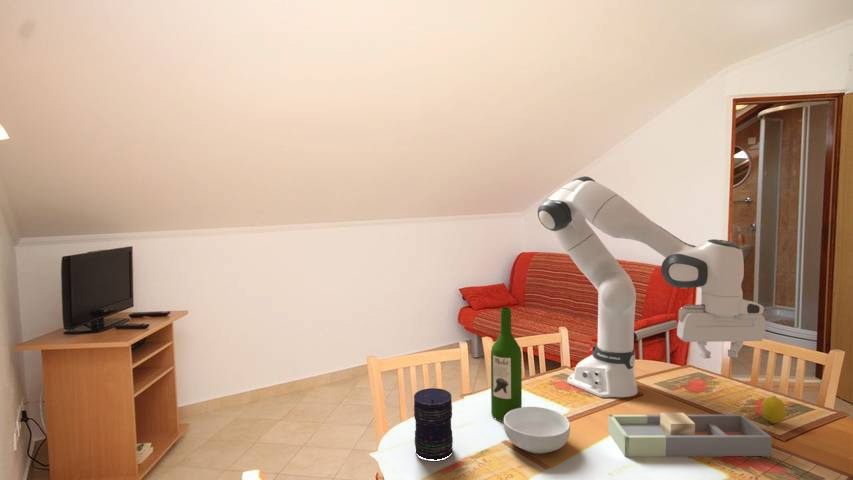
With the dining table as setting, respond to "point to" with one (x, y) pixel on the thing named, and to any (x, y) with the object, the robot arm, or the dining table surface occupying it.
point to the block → (676, 424)
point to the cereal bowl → (536, 429)
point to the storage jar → (433, 423)
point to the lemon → (773, 409)
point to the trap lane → (690, 437)
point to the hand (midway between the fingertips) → (719, 357)
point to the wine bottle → (505, 370)
